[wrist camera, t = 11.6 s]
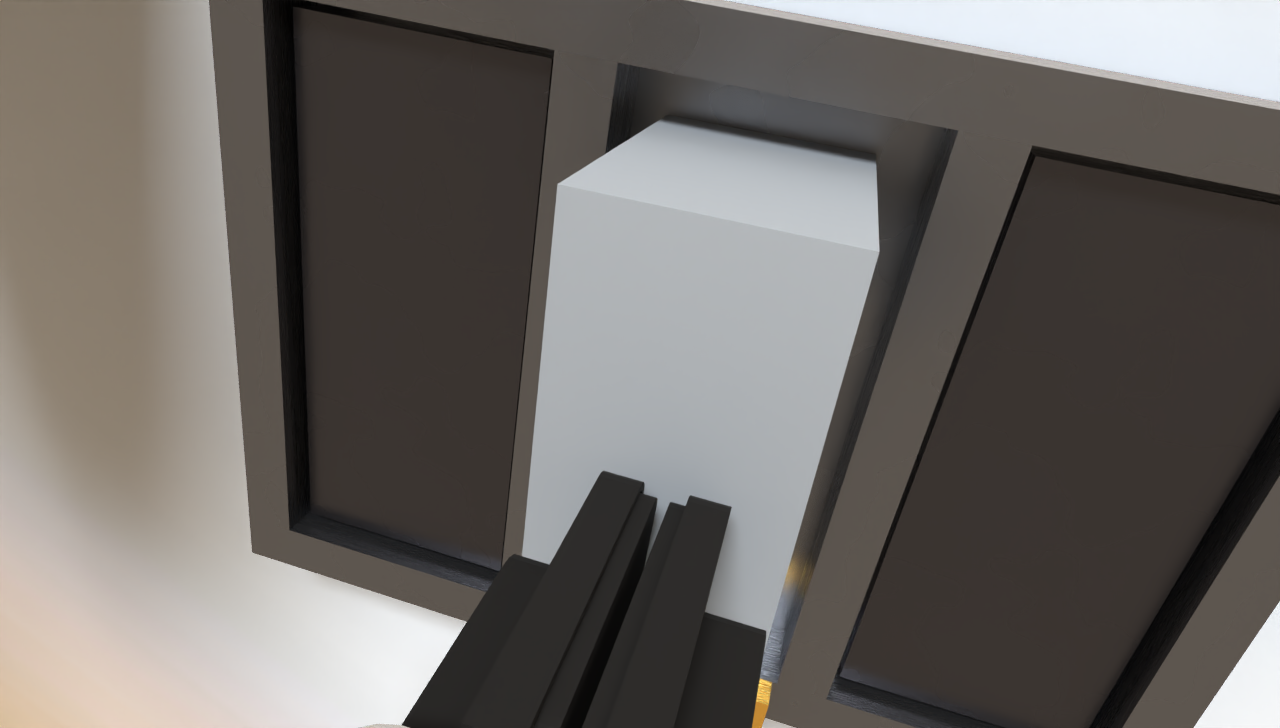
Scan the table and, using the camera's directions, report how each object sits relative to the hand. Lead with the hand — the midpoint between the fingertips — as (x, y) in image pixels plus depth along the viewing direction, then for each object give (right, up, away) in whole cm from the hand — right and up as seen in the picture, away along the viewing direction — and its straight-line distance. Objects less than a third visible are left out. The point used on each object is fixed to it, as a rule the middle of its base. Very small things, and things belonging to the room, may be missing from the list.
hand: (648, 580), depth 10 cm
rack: (+2, +3, +6) cm, 7 cm away
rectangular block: (+1, +2, +5) cm, 6 cm away
